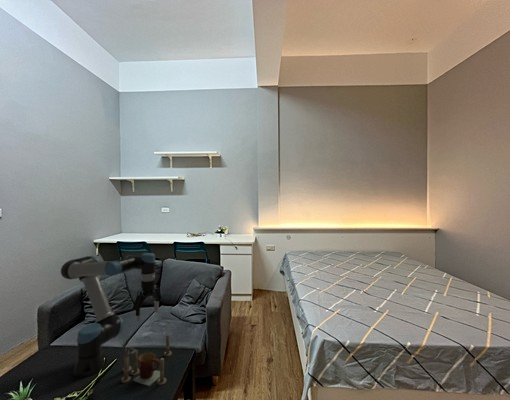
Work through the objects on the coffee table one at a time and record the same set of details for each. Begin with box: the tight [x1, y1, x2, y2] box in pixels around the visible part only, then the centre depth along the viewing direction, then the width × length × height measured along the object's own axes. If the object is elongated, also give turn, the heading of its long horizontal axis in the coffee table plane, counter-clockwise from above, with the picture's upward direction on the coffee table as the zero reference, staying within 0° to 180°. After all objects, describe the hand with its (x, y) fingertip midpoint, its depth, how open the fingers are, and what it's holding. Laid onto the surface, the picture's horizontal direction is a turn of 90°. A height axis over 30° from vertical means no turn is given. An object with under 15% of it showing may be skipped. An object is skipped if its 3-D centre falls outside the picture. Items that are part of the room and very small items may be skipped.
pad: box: [133, 369, 160, 387], centre depth 146 cm, size 11×11×1 cm
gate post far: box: [163, 333, 173, 357], centre depth 168 cm, size 5×5×12 cm
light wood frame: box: [120, 346, 139, 383], centre depth 148 cm, size 11×11×13 cm
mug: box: [138, 351, 160, 379], centre depth 146 cm, size 12×9×10 cm
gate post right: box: [156, 357, 168, 386], centre depth 143 cm, size 5×5×12 cm
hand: (148, 316), depth 157 cm, fingers open, 13 cm apart
